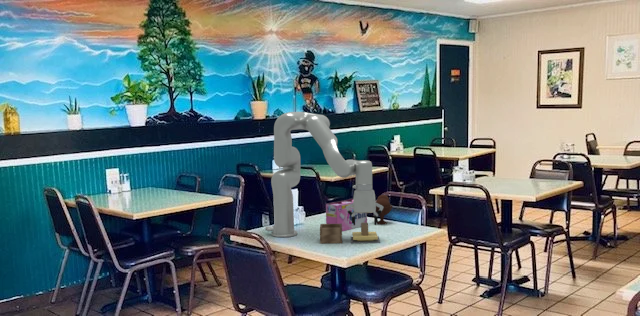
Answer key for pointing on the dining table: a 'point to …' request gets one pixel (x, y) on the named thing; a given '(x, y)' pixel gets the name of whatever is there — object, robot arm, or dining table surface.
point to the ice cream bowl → (387, 208)
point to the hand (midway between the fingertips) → (364, 224)
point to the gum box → (343, 215)
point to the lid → (364, 234)
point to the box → (330, 233)
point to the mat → (365, 241)
